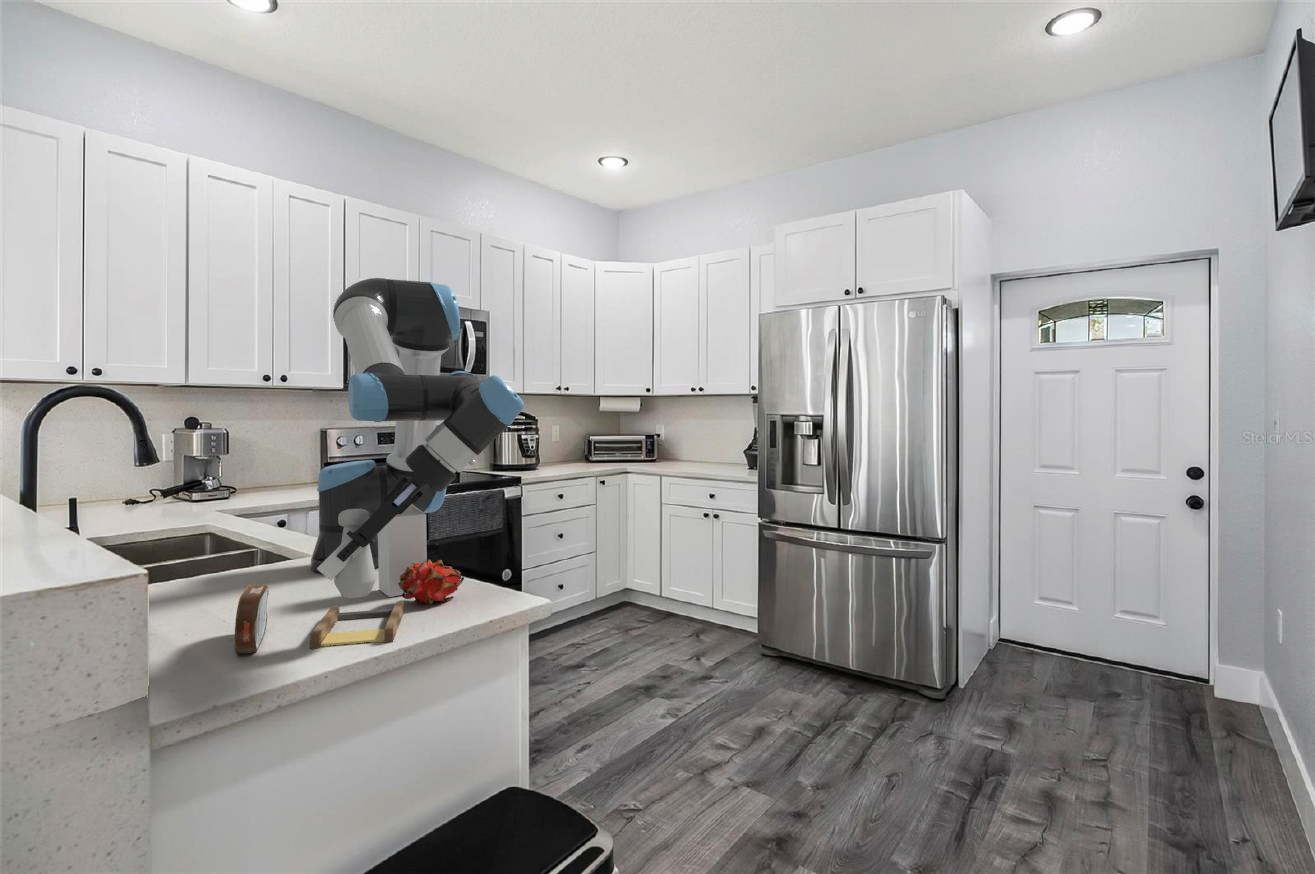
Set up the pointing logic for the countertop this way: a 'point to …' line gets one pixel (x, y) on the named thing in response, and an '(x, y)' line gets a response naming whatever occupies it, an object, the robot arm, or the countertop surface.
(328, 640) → the yellow panel
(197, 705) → the countertop surface
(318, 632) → the channel
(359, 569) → the salt shaker
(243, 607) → the tin
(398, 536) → the milk carton
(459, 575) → the dragon fruit
